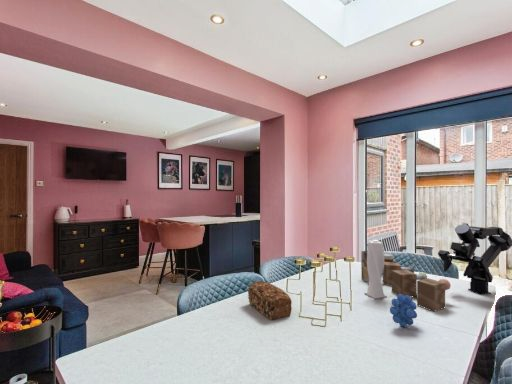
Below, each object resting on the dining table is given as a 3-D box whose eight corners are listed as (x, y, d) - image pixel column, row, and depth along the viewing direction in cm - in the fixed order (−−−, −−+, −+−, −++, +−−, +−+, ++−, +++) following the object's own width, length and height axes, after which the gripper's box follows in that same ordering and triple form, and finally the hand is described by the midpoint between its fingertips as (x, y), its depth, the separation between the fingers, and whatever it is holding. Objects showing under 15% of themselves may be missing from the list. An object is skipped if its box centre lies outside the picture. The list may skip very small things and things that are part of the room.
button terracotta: (439, 287, 124) (439, 277, 124) (450, 291, 120) (450, 280, 120) (428, 290, 121) (428, 280, 121) (439, 294, 116) (439, 283, 116)
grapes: (400, 335, 93) (400, 299, 94) (385, 326, 100) (385, 292, 100) (426, 330, 97) (426, 296, 97) (410, 321, 103) (410, 289, 103)
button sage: (420, 280, 135) (420, 270, 135) (427, 283, 130) (427, 273, 130) (404, 280, 134) (404, 271, 134) (410, 283, 130) (410, 274, 130)
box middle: (407, 291, 136) (407, 270, 136) (416, 296, 129) (416, 274, 129) (391, 291, 135) (391, 270, 135) (400, 297, 128) (400, 274, 128)
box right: (428, 301, 122) (428, 278, 123) (445, 307, 116) (445, 282, 116) (417, 305, 119) (417, 280, 119) (433, 311, 113) (433, 285, 113)
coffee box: (381, 283, 148) (381, 253, 148) (372, 284, 146) (372, 254, 146) (370, 278, 157) (370, 250, 157) (360, 279, 155) (360, 250, 155)
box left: (398, 282, 150) (398, 262, 150) (401, 286, 143) (401, 266, 143) (382, 280, 153) (382, 261, 153) (384, 284, 146) (384, 264, 146)
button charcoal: (412, 273, 147) (412, 264, 147) (414, 275, 142) (414, 267, 142) (395, 272, 149) (395, 263, 149) (396, 274, 145) (396, 265, 145)
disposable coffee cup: (397, 276, 160) (397, 256, 160) (380, 276, 160) (380, 256, 160) (389, 272, 169) (389, 252, 169) (373, 272, 169) (374, 252, 169)
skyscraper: (389, 298, 126) (389, 237, 126) (376, 301, 123) (376, 238, 124) (375, 292, 134) (375, 235, 134) (362, 294, 131) (362, 235, 131)
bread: (247, 304, 119) (247, 281, 119) (268, 300, 124) (268, 278, 124) (269, 322, 103) (269, 295, 103) (293, 316, 108) (293, 290, 108)
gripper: (440, 233, 137) (426, 257, 132) (484, 239, 120) (470, 267, 115) (449, 248, 140) (435, 272, 135) (493, 255, 123) (480, 283, 118)
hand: (454, 273), depth 126 cm, fingers open, 8 cm apart
